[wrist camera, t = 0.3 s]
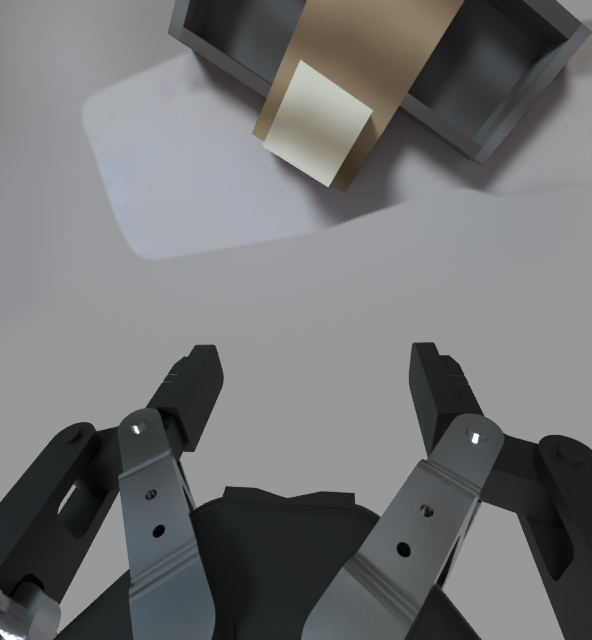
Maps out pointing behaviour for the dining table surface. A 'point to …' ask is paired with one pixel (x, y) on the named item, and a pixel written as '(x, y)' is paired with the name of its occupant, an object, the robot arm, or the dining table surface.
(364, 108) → the block
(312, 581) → the robot arm
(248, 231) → the dining table surface
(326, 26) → the box
